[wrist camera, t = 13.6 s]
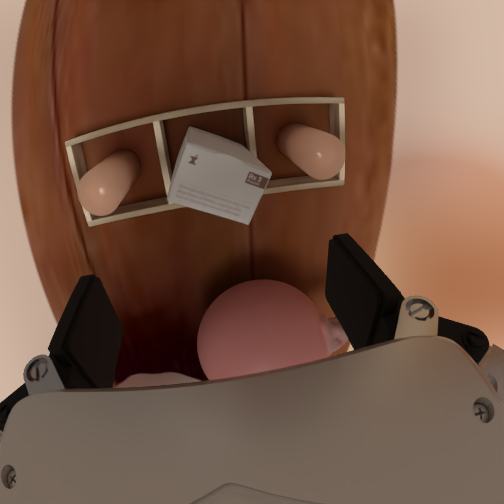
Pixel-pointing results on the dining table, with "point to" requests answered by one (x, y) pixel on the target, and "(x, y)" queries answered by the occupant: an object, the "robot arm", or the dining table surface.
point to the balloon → (264, 330)
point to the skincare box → (217, 176)
